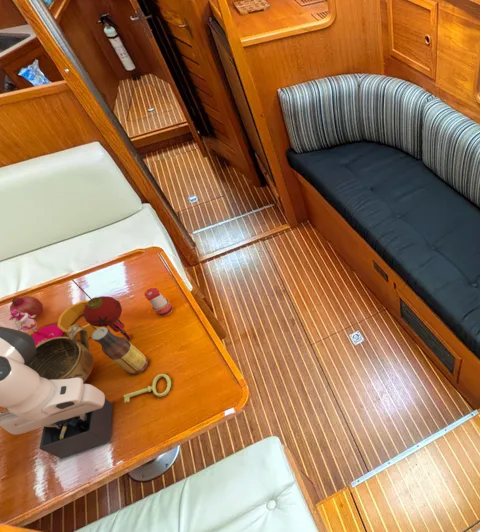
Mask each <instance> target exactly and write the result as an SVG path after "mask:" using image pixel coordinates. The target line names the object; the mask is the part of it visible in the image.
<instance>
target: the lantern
mask: <svg viewBox="0 0 480 532" xmlns="http://www.w3.org/2000/svg"><path fill="white" fill-rule="evenodd" d="M71 281H72V283H74V284H75V285H76V286H77V287H78V288H79V289H80V291H82V293H84V294H85V295H86V297H88V299H89V300H87V301H88V303H87V305H86V306H85V309H84V313H83V318H84V320H85V322H87V324H91V325H93V326H97V327H103V326H105V327H109V328H110V329H111V330H112V331H113V332H115V333H120V334H121V335H122V336H124V338H125V339H126V340H128V341H130V340H131V339H132V336H131V335H130V334H129V333H128V332H127V331H126V330H125V329H124V328H125V324H124V323H123V322H122V320H121V319H120V317H121V315H122V312H123V308H122V305H121V303H120V301H119V300H117V299H116V298H114V297H112V296H103V295H102V296H97V297H96V296H95V297H93V298H92V297H91V296H90V295H88V293H87V292H85V290H84V289H83V288H82V287H81V286H80V285H79V284H78V283H77V281H75V280H74V279H71Z"/></svg>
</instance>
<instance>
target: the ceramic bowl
mask: <svg viewBox="0 0 480 532" xmlns="http://www.w3.org/2000/svg"><path fill="white" fill-rule="evenodd" d="M79 331H80V339H81V340H76V335H77V333H78V332H79ZM66 335H67V336H62V337H56V338H51V339H48V340H46V341H44V342H42V343H40V344H38V345H37V346H36V354H35V355H34V356H33V357H32V358H31V359H30V360H29V361H28V362H27V363H26V364H25V365H26V366H28V367H30V368H31V369H33V370H34V371H36V372H37V373H38V374H39V376H40V377H43V378H46V379H48V380H59V379H70V378H81V379H83V384H85V382H86V380H88V378H89V377H90V375H91V373H92V372H93V370H94V369H93V368H94V365H95V363H94V361H95V360H94V356H93V354H92V353H91V349H90V345H89V338H88V335H87V331H86V330H85V329H84V328H83V326H82V325H80V324H78V323H76V324H74V323H73V324H71V327H70V328H69V329H68V333H67V334H66Z"/></svg>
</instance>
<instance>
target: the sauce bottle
mask: <svg viewBox="0 0 480 532" xmlns="http://www.w3.org/2000/svg"><path fill="white" fill-rule="evenodd" d="M91 338H92V340H93V341H94V342H96V343H98V344H99V345H100V346H101V351H102V353H103V354H104V355H105V356H106V357H108V358H109V359H110V360H111V361H112V362H114V363H115V364H116V365H117V366H119V367H120V368H121V369H122V370H124V371H125V372H126V373H128V374H130V375H137V374H140V373H142V372H144V370H146V369H147V367H148V364H149V359H148V358H147V357H146V355H144V354H143V353H142V352H141V351H140V350H139V349H138V348H137V347H136V346H135V345H134V344H133V343H131V342H130V340H128V339H127V338H125V337H121V336H117V335H115V334H114V333H112V332H111V330H110V329H109V328H107V327H106V326H105V327H101V328H98V329H97V330H95V331H94V332H93V334H92V337H91Z"/></svg>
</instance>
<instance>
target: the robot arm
mask: <svg viewBox="0 0 480 532" xmlns="http://www.w3.org/2000/svg"><path fill="white" fill-rule="evenodd" d="M35 354H36V344H35V341H34V338H33V337H32V335H31V334H29V333H27V332H26V331H23V330H21V331H19V330H18V329H14V328H10V327H4V326H0V407H1V408H5V410H0V427H1V428H2V429H3V430H5V431H6V432H8V433H9V434H11V435H16V436H17V435H22V434H26V433H29V432H31V431H32V432H33V431H34V430H37V429H41V428H44V426H45V427H56V428H58V429H60V428H63V424H62V425H59V426H58V425H56V424H55V423H56V422H58V421H61V420H66V419H69V418H72V417H75V416H77V421H79V422H82V421H85V420H87V414H86V413H88V412H91V411H94V410H97V409H100V408H102V407H103V405H104V402H105V399H106V395H105V393H104V392H103V391H102V390H100V389H99V388H97V387H96V386H94V385H93V384H89V383H83V379H81V378H70V379H59V380H48V379H46V378H43V377H40V376H39V374H38V373H37V372H36V371H34V370H33V369H31V368H30V367H28V366H26V365H25V364H26V363H27V362H28V361H29V360H30V359H31V358H32V357H33V356H34V355H35Z"/></svg>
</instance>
